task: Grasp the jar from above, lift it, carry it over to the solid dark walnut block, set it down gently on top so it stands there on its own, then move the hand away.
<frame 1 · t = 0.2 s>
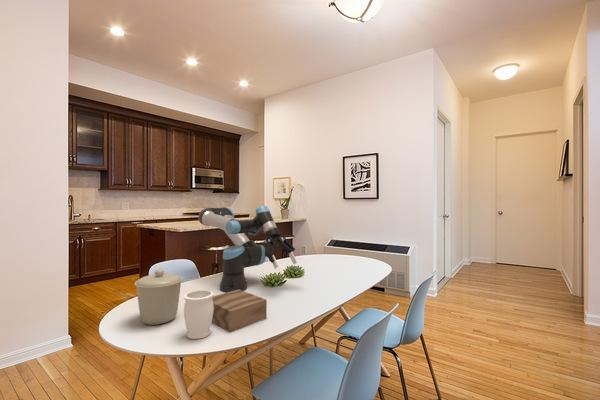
hand: (286, 265, 156), 15 cm above the table, tool tilted 35°, fingers open, 13 cm apart
jar: (198, 334, 110), on the table
walnut box: (234, 317, 125), on the table
canister: (159, 320, 123), on the table
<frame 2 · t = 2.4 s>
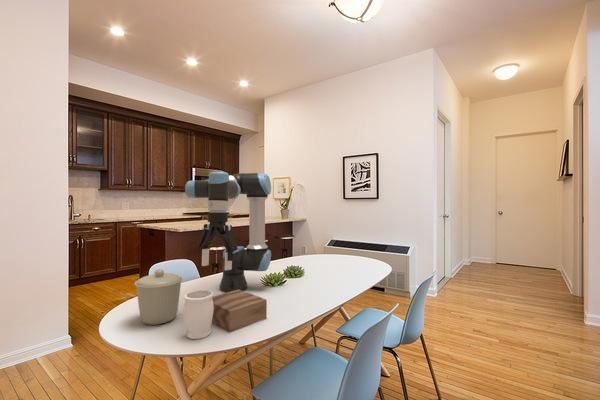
hand: (216, 267, 113), 24 cm above the table, tool pointing down, fingers open, 13 cm apart
nothing on the table moved.
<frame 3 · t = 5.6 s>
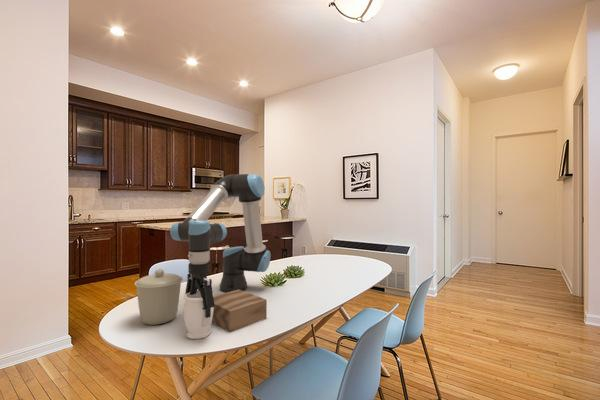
hand: (198, 321, 110), 5 cm above the table, tool pointing down, fingers closed on jar, 10 cm apart
jar: (198, 334, 110), on the table, touching gripper
everything else where it was.
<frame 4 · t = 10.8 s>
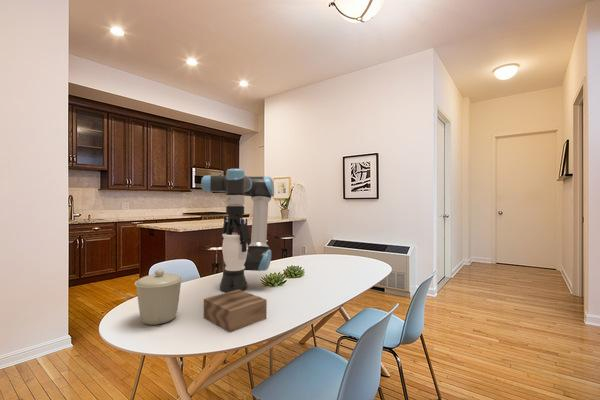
hand: (235, 257, 125), 26 cm above the table, tool pointing down, fingers closed on jar, 10 cm apart
jar: (235, 269, 125), point 21 cm above the table, touching gripper
everything else where it was.
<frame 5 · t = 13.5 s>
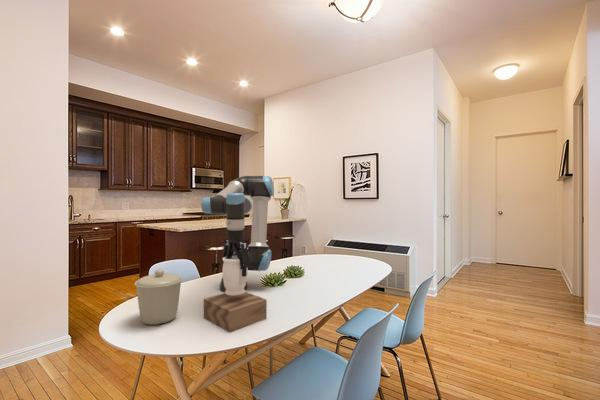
hand: (235, 281, 125), 16 cm above the table, tool pointing down, fingers closed on jar, 10 cm apart
jar: (235, 293, 125), point 11 cm above the table, touching gripper
everything else where it was.
when the fingers open (13 cm above the table, at t = 16.1 s): jar stays where it is, resting on walnut box.
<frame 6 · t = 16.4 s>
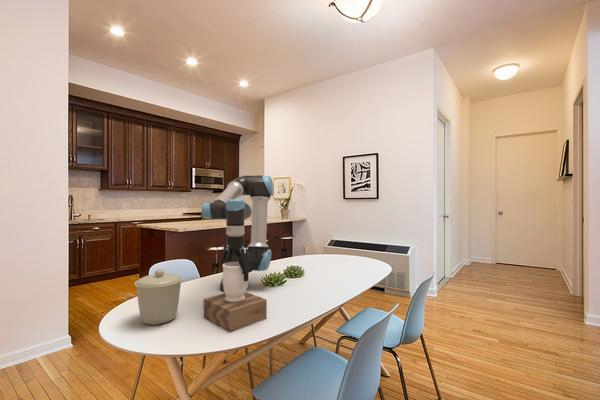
hand: (235, 285, 125), 14 cm above the table, tool pointing down, fingers open, 13 cm apart
jar: (235, 299, 125), point 8 cm above the table, touching walnut box
everything else where it was.
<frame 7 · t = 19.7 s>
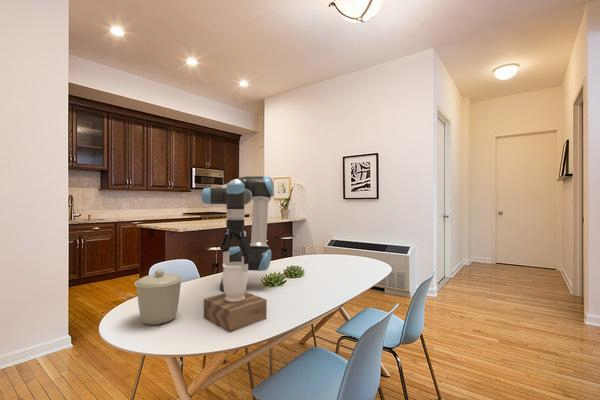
hand: (235, 269, 125), 21 cm above the table, tool pointing down, fingers open, 13 cm apart
nothing on the table moved.
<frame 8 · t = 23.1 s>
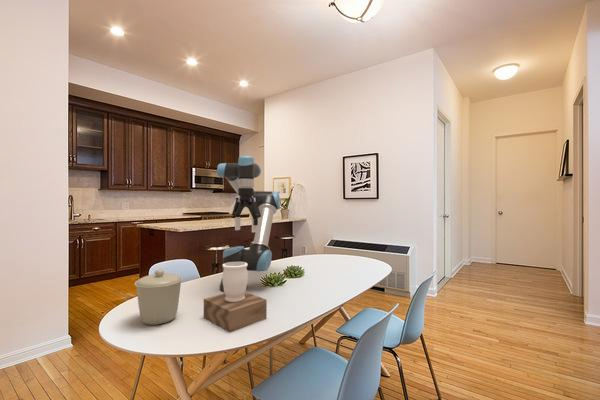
hand: (245, 231, 145), 35 cm above the table, tool pointing down, fingers open, 13 cm apart
nothing on the table moved.
at the end: jar inside the target area on the walnut box (0.1 cm from its centre), point 7.8 cm above the walnut box's base; jar tilted 0°; the gripper is holding nothing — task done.
